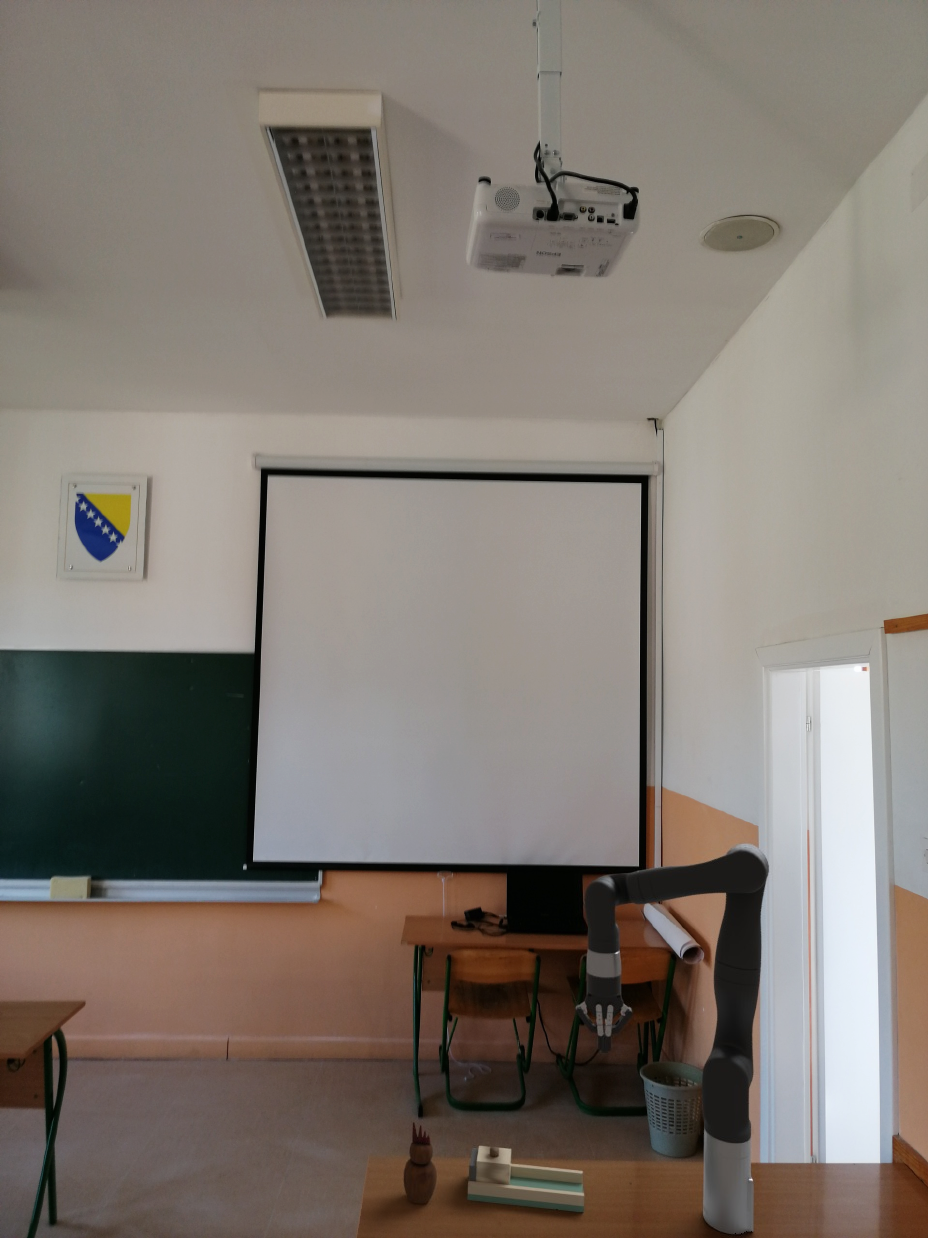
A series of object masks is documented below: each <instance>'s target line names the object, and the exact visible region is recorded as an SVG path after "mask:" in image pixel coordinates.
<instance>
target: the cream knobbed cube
mask: <svg viewBox="0 0 928 1238" xmlns="http://www.w3.org/2000/svg"><path fill="white" fill-rule="evenodd" d="M478 1149H479V1150H478V1156H477V1167H476V1182H485V1183H494V1184H504V1185H510V1174H511V1164H512V1148H504V1147H498V1146H487V1145H486V1146H485V1145H479V1146H478Z"/></svg>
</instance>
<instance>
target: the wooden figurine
mask: <svg viewBox="0 0 928 1238" xmlns="http://www.w3.org/2000/svg"><path fill="white" fill-rule="evenodd" d="M422 1130H423V1127H422V1125H421V1124H419V1129H418V1132H417V1128H416V1124H415V1122H414V1121H413V1122H412V1135H411V1136H412V1137H411V1138H412V1140H411V1143H410V1146H409V1159H408V1160H407V1161H406V1163H405V1166H404V1170H403V1187H404V1191H405V1194H406V1196H407V1199H409V1201H410V1202H412V1203H414V1204H418V1205H422V1204H427V1203H428V1202H429V1201H430V1200H431V1199H432V1196H433V1195H434V1192H435V1189H436V1186H437V1179H438V1175H437V1172H438V1171H437V1168H436V1166H435V1164H434V1162H433V1161H432V1158H433V1156H434V1155H433V1154H434V1148H433V1146H432V1144H431V1137H430V1134H428V1135H427V1132H426V1130H423V1131H422Z"/></svg>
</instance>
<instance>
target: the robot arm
mask: <svg viewBox="0 0 928 1238" xmlns="http://www.w3.org/2000/svg"><path fill="white" fill-rule="evenodd" d="M769 873H770V865H769V861H768V859H767V856H766V855H765V854H764V851H762V850H761V849H760V848H759V847H757V846H756V845H754V844H752V843H740V844H737V845H734V846H733V847H731V848H730V849H729V850H728V851H727V852H726V854H725V855H722V856H719V857H716V858H714V859H711V860H709V861H704V862H700V863H695V864H694V863H693V864H689V865H670V866H669V865H668V866H667V865H666V866H657V867H653V868H647V869H642V870H636V871H633V872H628V873H627V872H626V873H612V874H607V875H605V874H604V875H602V876H600V877H599V876H598V877H597V878H596V879H594V880H593V881H592V882H590V883H588V885H587V887H586V888H585V892H584V899H583V900H584V911H585V919H586V923H587V927H588V928H587V953H586V955H587V956H586V994H585V996H584V1001H583V1002H581V1003H580V1004H576V1005H575V1011H576V1015H577V1016H578V1017H579V1018H580V1019H581V1021H582V1022H583V1024H584V1025H585V1026H586V1028H587V1029H588V1030H589V1032H590V1033H594V1034H596V1035H597V1050H598V1051H600V1054H606V1055H607V1054H609V1052H611V1049H612V1035H614V1034H615V1035H616V1034H617V1035H618V1034H619V1033H620V1032H621V1031H622V1029H624V1027H625V1026H626V1024H627V1023H628V1022H629V1020H630V1019H632V1017H633V1014H634V1013H633V1009H632V1007H630V1006H628V1005H626V1004H625V1003H624V999H623V997H622V960H621V959H622V958H621V953H620V952H621V951H620V950H621V949H620V942H621V941H620V940H621V939H620V938H621V937H620V927H619V926H618V924H617V923H616V922H617V921H616V907H617V906H623V905H629V904H635V905H647V904H654V903H659V902H664V901H670V900H675V899H681V898H685V897H691V896H697V895H698V896H699V895H708V894H725V906H724V911H723V916H722V920H721V923H720V929H719V933H718V937H717V941H716V948H715V956H714V965H713V966H714V967H713V990H714V991H713V992H714V998H715V999H714V1001H715V1004H716V1026H715V1033H714V1037H713V1038H714V1039H713V1044H712V1048H711V1051H710V1054H709V1056H708V1057H707V1059H706V1061H705V1063H704V1066H703V1069H702V1076H701V1098H702V1099H701V1102H702V1103H701V1105H702V1107H701V1109H702V1111H701V1112H702V1117H703V1125H704V1127H703V1129H704V1130H703V1133H704V1134H703V1195H702V1196H703V1201H702V1209H703V1210H702V1212H703V1213H702V1215H703V1218H704V1219H703V1220H704V1221H705V1222H706V1223H707V1224H708V1225H709V1226H710V1227H711V1228H713V1229H715V1230H717V1231H719V1232H721V1233H725V1234H727V1235H729V1234H730V1235H741V1233H742V1234H745V1233H747V1232H751V1231H752V1232H754V1180H753V1178H752V1174H751V1172H752V1171H751V1170H752V1166H751V1164H752V1160H751V1159H752V1123H751V1120H750V1087H751V1085H752V1082H753V1077H754V1072H755V1071H754V1052H753V1051H754V1050H753V1049H754V1048H753V1047H754V1046H753V1045H754V1044H753V1041H754V1040H753V1033H754V1032H753V1028H754V1020H755V1015H756V1010H757V1005H758V999H759V991H760V984H761V981H760V980H761V974H762V973H761V971H762V949H763V948H762V908H763V899H764V894H765V889H766V884H767V880H768V876H769ZM587 1009H588V1010H589V1011H590V1013H591V1015H592V1016H593V1017H594V1019H596V1024H595V1023H594V1022H593V1020H592V1019H591V1018H590V1016H589V1015H588V1010H587ZM619 1012H620V1014H621V1015H620V1016H619V1017H618V1019H617V1020H616V1021H614V1023H613V1019H615V1017H616V1016H617V1015H618V1014H619ZM603 1019H604V1021H605V1022H604V1021H603ZM603 1022H604V1023H603ZM603 1024H604V1026H603ZM746 1231H747V1232H746ZM744 1232H745V1233H744ZM735 1233H736V1234H735Z"/></svg>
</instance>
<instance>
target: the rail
mask: <svg viewBox="0 0 928 1238" xmlns="http://www.w3.org/2000/svg"><path fill="white" fill-rule="evenodd" d="M478 1150H479V1147H476V1148H475V1147H472V1148H471V1155H470V1161H469V1165H468V1182H467V1201H475V1202H482V1203H484V1202H486V1203H494V1204H504V1205H511V1206H521V1207H530V1208H537V1209H539V1208H541V1209H548V1210H556V1209H558V1210H557V1211H567V1212H577V1213H585V1192H584V1188H583V1187H584V1185H583V1177H584V1174H583V1173H584V1171H583V1170H576V1169H568V1168H558V1167H547V1166H538V1165H537V1166H536V1165H529V1164H517V1163H511V1174H510V1185H504V1184H494V1183H485V1182H476V1167H477V1156H478Z"/></svg>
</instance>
